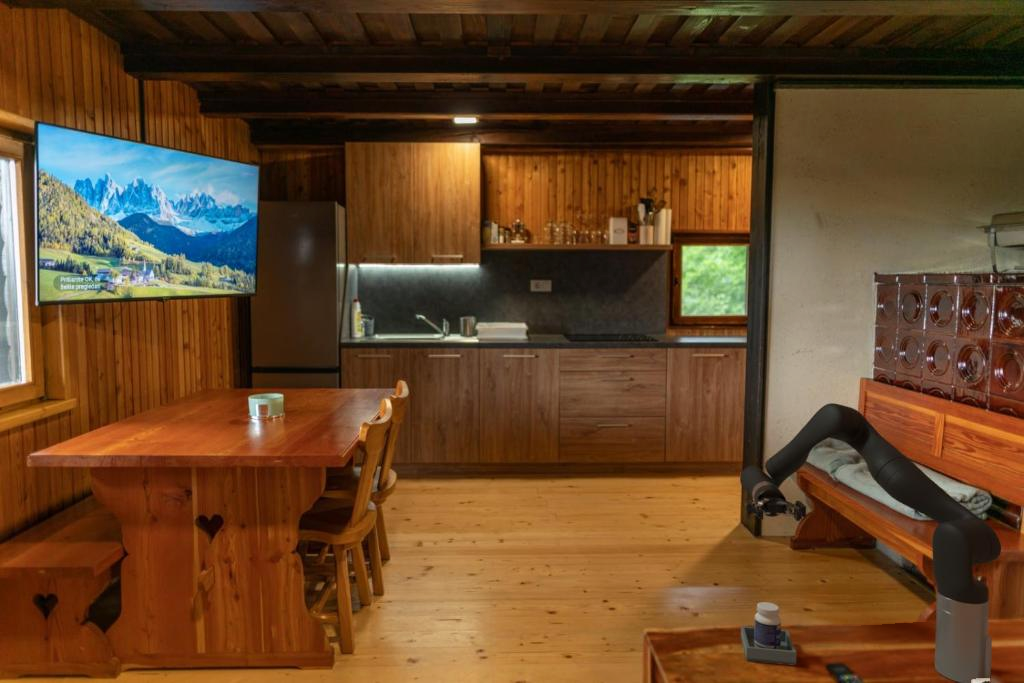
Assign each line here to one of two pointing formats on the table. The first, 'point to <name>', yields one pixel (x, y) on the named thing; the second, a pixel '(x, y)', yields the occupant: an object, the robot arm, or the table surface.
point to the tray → (768, 655)
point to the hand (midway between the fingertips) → (780, 516)
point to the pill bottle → (767, 626)
